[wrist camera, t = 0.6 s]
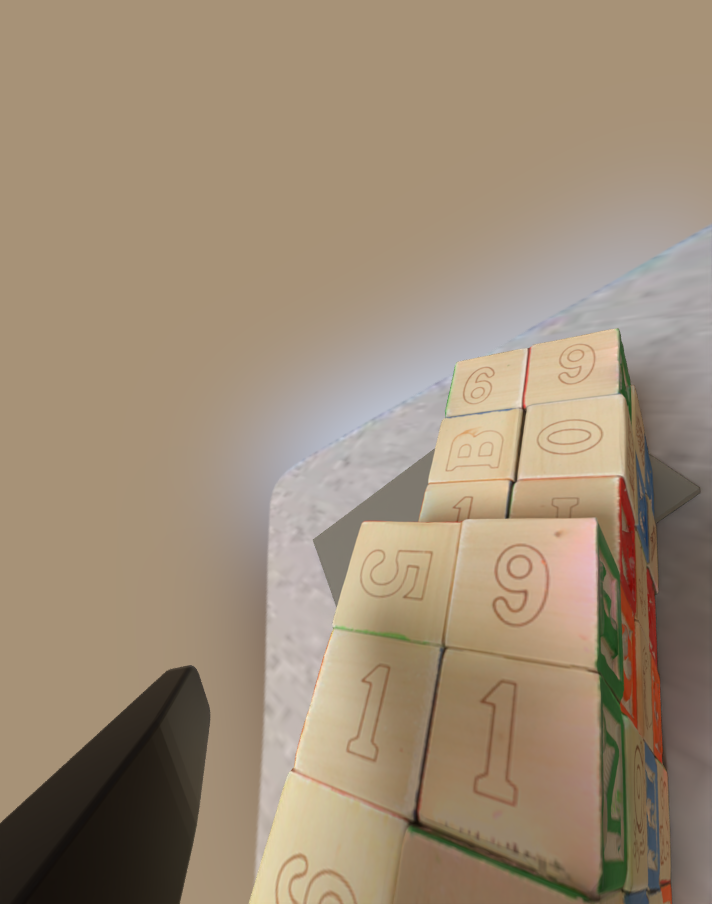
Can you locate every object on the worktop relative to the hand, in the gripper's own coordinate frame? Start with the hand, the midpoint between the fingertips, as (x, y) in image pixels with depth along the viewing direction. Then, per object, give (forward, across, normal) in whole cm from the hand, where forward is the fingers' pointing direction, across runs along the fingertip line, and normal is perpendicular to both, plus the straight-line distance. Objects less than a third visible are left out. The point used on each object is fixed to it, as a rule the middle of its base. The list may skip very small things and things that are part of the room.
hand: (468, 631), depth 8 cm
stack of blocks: (+8, -6, +11) cm, 15 cm away
